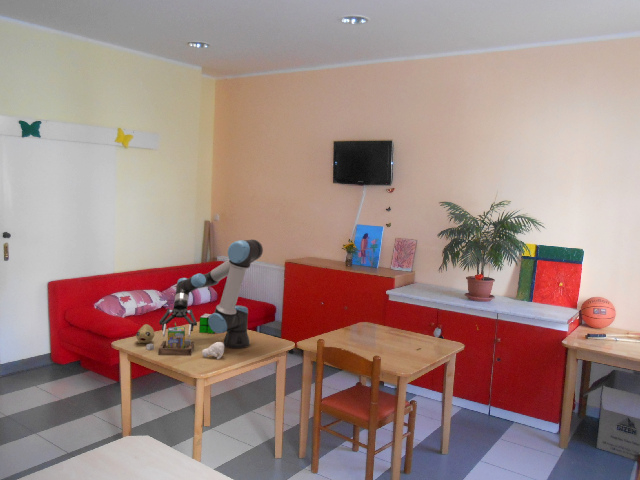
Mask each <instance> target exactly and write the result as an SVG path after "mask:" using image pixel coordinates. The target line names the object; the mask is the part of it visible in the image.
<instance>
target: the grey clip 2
mask: <svg viewBox="0 0 640 480" xmlns="http://www.w3.org/2000/svg"><path fill="white" fill-rule="evenodd" d="M191 342H192V339H191V338H185V346H190V344H191Z"/></svg>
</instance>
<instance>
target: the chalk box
mask: <svg viewBox="0 0 640 480" xmlns="http://www.w3.org/2000/svg"><path fill="white" fill-rule="evenodd" d="M185 340H186V327H185V326H182V327H181V326H180V327H179V326H177V323H176V322H174V327H173V326H172V327H168V330H167V345H168V348H185V346H186V345H185Z"/></svg>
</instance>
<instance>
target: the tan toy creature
mask: <svg viewBox="0 0 640 480" xmlns="http://www.w3.org/2000/svg"><path fill="white" fill-rule="evenodd" d="M135 337H136V340H137V343H138V344H151V341H152V340H153V339H154V337H155V331H154V328H153V327H152V326H151V325H149V324H147V323H146V324H143V325H142V326H141V327H140V328H139V329H138V330H137V332H136V334H135Z"/></svg>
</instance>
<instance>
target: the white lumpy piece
mask: <svg viewBox="0 0 640 480" xmlns="http://www.w3.org/2000/svg"><path fill="white" fill-rule="evenodd" d="M224 352H225V346H224V344H223V342H222V341H217V342H214V343H212V344H211V345H210V346H209V347H207V348H204V349H202V351H201V355H202V356H203V357H204V358H208V356H212V357H215V358H216V360H220V359H221V358H222V356H223V354H224Z"/></svg>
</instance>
